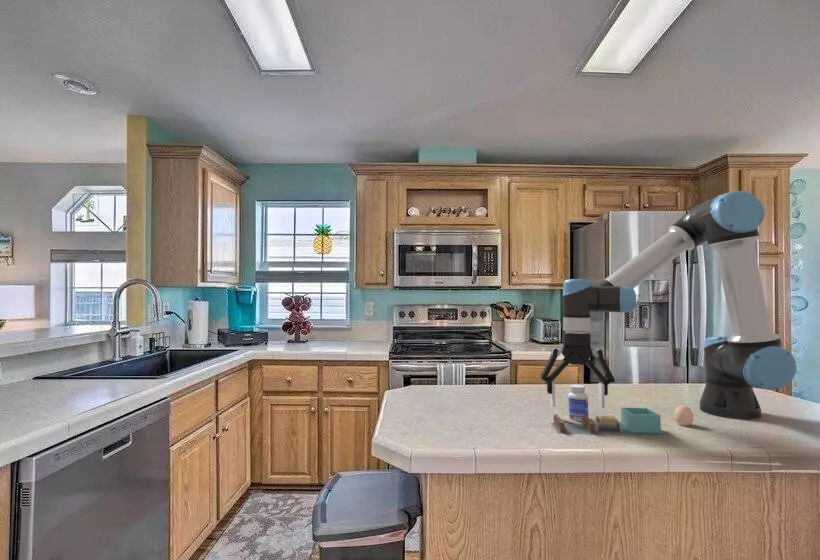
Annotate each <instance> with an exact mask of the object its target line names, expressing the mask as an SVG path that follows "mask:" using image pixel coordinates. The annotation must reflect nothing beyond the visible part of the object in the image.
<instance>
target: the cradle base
mask: <svg viewBox="0 0 820 560" xmlns="http://www.w3.org/2000/svg"><path fill="white" fill-rule="evenodd" d="M616 419H617V418H616ZM590 420H591V421H592V422H593V423H594V424H595V431H607V432H623V423H622V422H621V420H619V419H617V424H600V423H599V422H597V421H596V418H590Z"/></svg>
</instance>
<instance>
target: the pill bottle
mask: <svg viewBox="0 0 820 560" xmlns="http://www.w3.org/2000/svg"><path fill="white" fill-rule="evenodd" d="M569 389H570V392H569V393H568V394H567V400H568V401H567V407H568V419H569V420H570V421H571V420H572V421H575V422H582V415H586V416H587V417H588V418H589V395H588V394H587V393H586V392H585V391H586V386H585V385H582V384H571V385H570V386H569ZM589 419H590V418H589Z"/></svg>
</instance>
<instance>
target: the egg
mask: <svg viewBox="0 0 820 560" xmlns="http://www.w3.org/2000/svg"><path fill="white" fill-rule="evenodd" d="M673 416H674V421H676V423H677V424H678V425H679V426H684V427H689V426H691V425H692V424H693V422H694V414H693V411H692V410H691V408H689V406H687V405H684V404H682V405H678V406H677V407H676V409H675V410H674V414H673Z"/></svg>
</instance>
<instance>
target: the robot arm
mask: <svg viewBox="0 0 820 560" xmlns="http://www.w3.org/2000/svg"><path fill="white" fill-rule="evenodd" d="M765 212H766V210H765V207H764V205H763V203H762V201H761V200H760V199H759V198H758V197H756V196H755V195H753V194H751V193H750V192H746V191H742V190H735V191H729V192H725V193H721V194H719V195H717V196H715V197H713V198H711V199H708V200H706V201H703V202H702V201H701V202H700V203H698V204H697V205H695V206H694V207H693V208H691V209H690V210H689V211H688V212H686V213H685V214H684V215H683V216H681V217H680V218H679V219H678V220H676V222H674V223H673V224H672V225H671V226H669V227H668V230H667V231H668V232H666V234H664V235H662V236H661V237H660V238H658V239H657V240H656V241H655V242H653V243H652V244H650V245H649V246H647V248H645V249H644V250H642V251H641V252H640V253H638V254H637V255H635V256H634V257H633V258H632V259H630V260H628V262H626V263H625V264H624V265H622V266H621V267H619V268H617V270H615V271H614V272H613V273H611V274H609V276H607V277H606V278H604V280H602V281H601V282H599V283H598V284H597V285H595V286H594V285H592V284H591V280H589V279H588V278H584V279H583V278H570V279H565V280H564V281H563V286H562V287H563V288H562V313H563V314H562V315H563V316H562V330H563V331H564V332H563V334H562V348H561V349H560V348H556V347H552V348H551V353H550V356H549V357H548V361H547V362H546V364H545V366H544V368H543V370H542V371H541V374H540V376H539V377H540V379H541V380H542V381H545V382H546V392H547V394H550V405H551V406H552V407H556V382H554V381H555V379H557V377H558V376H559V375H560V374H561V373H562V371H564V369H565V368H566V367H567V366H569V364H570V365H573V366H575V365H579V366H580V365H581V366H583V365H586V366H587V367H588V368H589V369H590V370H591V372H592V373H593V374H594V375H595V376H596V377H597V378H598V380H599V381H600V382H598V406H599V407H600V408H601V409H605V408H606V407H605V396H608V395H609V385H610V383H611V384H612V383H615V382H616V379H615V377H614V376H613V373H612V372H611V370H610V368H609V366H608V364H607V361H606V360H605V358H604V353H603V350H602V349H601V348H600V349H599V348H595V349H592V348H591V346H592V345H591V344H592V343H591V342H592V339H591V337H592V336H591V333H590V332H591V330H592V328H591V327H592V326H591V325H592V324H591V323H592V322H591V321H592V320H591V319H592V318H591V314H592V312H593V313H621V314H623V313H631V312H633V311H635V308H636V305H637V294H636V291H635V288H637V287H638V286H639V285H641V284H642V283H644V282H645V281H646V280H648V279H649V278H650V277H651V276H652V275H654V274H656V273H657V272H658V271H660V270H661V269H662V268H664V267H665V266H667V265H668V264H669V263H670V262H671V263H672V261H673V260H675V259H676V258H678V256H680V255H682V254H683V253H684V252H686V251H693V250H694V249H695V248H697V247H698V246H700V245H702V244H705V243H706V242H707V244H708V246H709V247H710V248H712V249H713V250H715V252H716V258H717V262H718V263H717V264H718V267H719V271H720V273H719V274H720V279H721V282H722V283H721V284H722V288H723V293H724V298H725V303H726V307H727V312H728V316H729V323H730V328H731V334H730V336H709V337H707V338H705V339H704V346H703V351H704V372H705V374H704V375H705V377H704V378H705V386H704V388H703V391H702V394H701V397H700V400H699V410H700V411H701V412H704V413H707V414H711V415H713V416H719V417H725V418H733V419H742V420H743V419H744V420H748V419H749V420H751V419H754V420H755V419H759V418H762V407H761V406H760V404H759V401H758V399H757V396H756V394H755V392H754V388H756V389H763V390H770V391H771V390H777V389H781V388H785V386H787V385H788V384H789V383H790V382H791V381H792V380H793V379H794V378H795V376H796V373H797V361H796V359H795V357H794V356H793V354H792V353H790V351H788V350H787V349H785V348H783V344H782V342H781V341H782V340H781V339H782V338H781V336H780V335H779V334H777V333H775V332H774V331H773V330H772V328H771V323H770V318H769V313H768V307H767V304H766V303H767V302H766V298H765V293H764V288H763V283H762V278H761V275H760V268H759V263H758V260H757V255H756V248H755V243H756V241H757V240H758V239H759V238H760V233H759V227H760V226H761V224H762V222H763V221H764V219H765V214H766V213H765ZM560 355H562V357H563V359H562V360H560V362H559V364H558V365H556V367H555V368H554V369H553V370H552V368H553V367H554V365H555V363H556V360H557V358H558V357H559V356H560ZM592 356H594V357H595V358H596V359H597V361H598V363H599V365H600V368H601V370H602V371H603V373H604V375H603V374H602V372H601V371H600V370H599V369H598V368H597V367H596V366H595V364H594V363H593V362H592V361H591V360H590V358H591V357H592ZM551 370H552V371H551ZM753 387H754V388H753Z"/></svg>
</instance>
